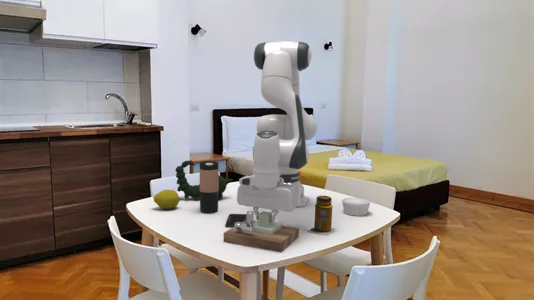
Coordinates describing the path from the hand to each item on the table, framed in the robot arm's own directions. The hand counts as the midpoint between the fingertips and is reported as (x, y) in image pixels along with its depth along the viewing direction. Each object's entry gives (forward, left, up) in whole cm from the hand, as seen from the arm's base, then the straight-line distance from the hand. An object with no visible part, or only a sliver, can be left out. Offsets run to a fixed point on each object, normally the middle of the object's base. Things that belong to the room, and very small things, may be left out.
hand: (265, 220), depth 140 cm
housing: (+3, 0, -6) cm, 6 cm away
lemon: (-12, -50, -6) cm, 52 cm away
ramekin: (-43, +21, -6) cm, 49 cm away
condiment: (-15, +15, -6) cm, 22 cm away
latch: (+8, -4, -1) cm, 9 cm away
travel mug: (-17, -33, -6) cm, 38 cm away
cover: (0, 0, -2) cm, 2 cm away
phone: (-11, -16, -6) cm, 20 cm away
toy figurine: (-33, -45, -6) cm, 56 cm away
